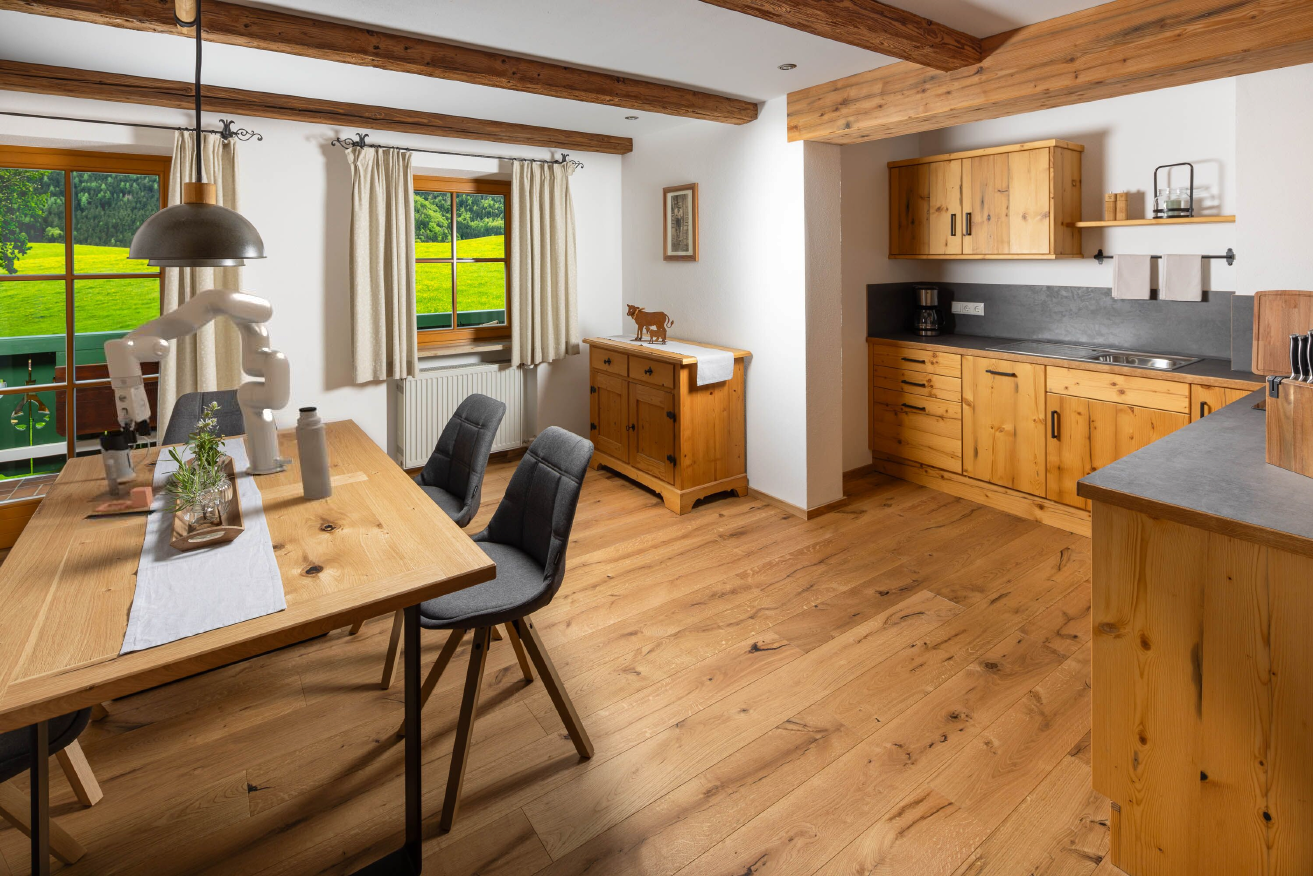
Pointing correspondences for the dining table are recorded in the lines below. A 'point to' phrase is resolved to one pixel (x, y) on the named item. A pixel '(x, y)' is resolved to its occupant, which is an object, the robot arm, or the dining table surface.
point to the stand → (114, 491)
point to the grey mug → (119, 454)
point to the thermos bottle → (313, 455)
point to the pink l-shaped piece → (138, 499)
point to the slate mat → (121, 514)
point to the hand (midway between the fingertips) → (138, 439)
